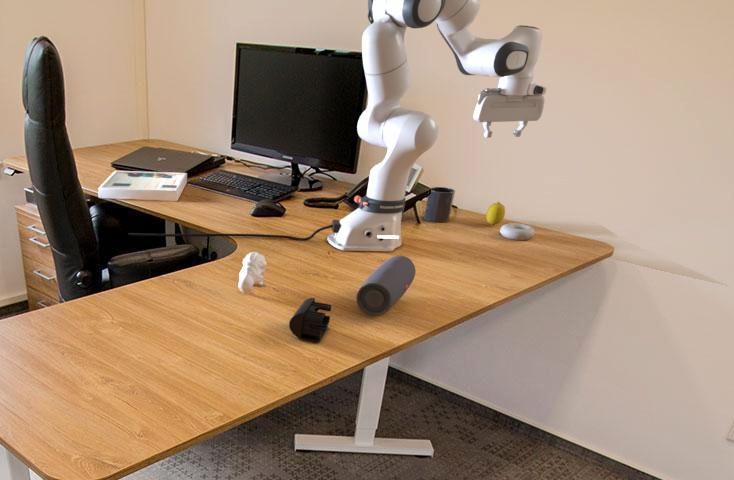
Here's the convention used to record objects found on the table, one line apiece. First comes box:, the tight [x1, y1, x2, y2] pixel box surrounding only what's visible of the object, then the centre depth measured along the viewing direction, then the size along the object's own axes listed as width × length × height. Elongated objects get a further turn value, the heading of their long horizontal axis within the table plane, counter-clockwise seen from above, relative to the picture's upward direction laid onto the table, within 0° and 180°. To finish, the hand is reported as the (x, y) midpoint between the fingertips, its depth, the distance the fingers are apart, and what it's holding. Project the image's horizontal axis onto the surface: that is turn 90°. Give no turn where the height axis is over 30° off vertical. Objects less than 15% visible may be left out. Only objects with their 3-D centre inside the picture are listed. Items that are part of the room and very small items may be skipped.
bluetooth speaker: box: [355, 255, 416, 317], centre depth 169 cm, size 23×9×10 cm, turn 148°
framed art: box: [97, 170, 188, 202], centre depth 273 cm, size 30×4×30 cm
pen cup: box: [423, 186, 456, 224], centre depth 234 cm, size 8×8×10 cm
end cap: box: [288, 297, 332, 344], centre depth 156 cm, size 10×7×7 cm
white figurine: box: [237, 251, 268, 295], centre depth 180 cm, size 6×8×12 cm
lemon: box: [485, 201, 506, 227], centre depth 227 cm, size 6×6×8 cm
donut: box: [499, 222, 536, 241], centre depth 218 cm, size 10×4×10 cm
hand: (501, 136), depth 210 cm, fingers open, 8 cm apart
